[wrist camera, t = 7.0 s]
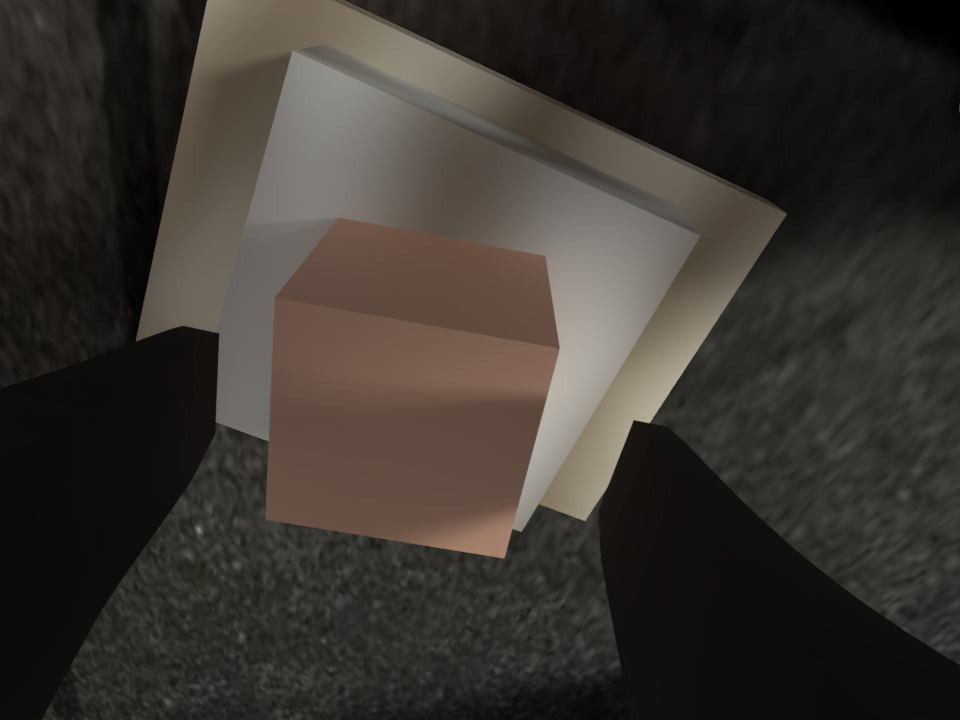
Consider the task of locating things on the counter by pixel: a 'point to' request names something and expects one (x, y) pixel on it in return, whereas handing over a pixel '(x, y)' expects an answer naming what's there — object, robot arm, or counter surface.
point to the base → (242, 146)
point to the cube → (408, 387)
